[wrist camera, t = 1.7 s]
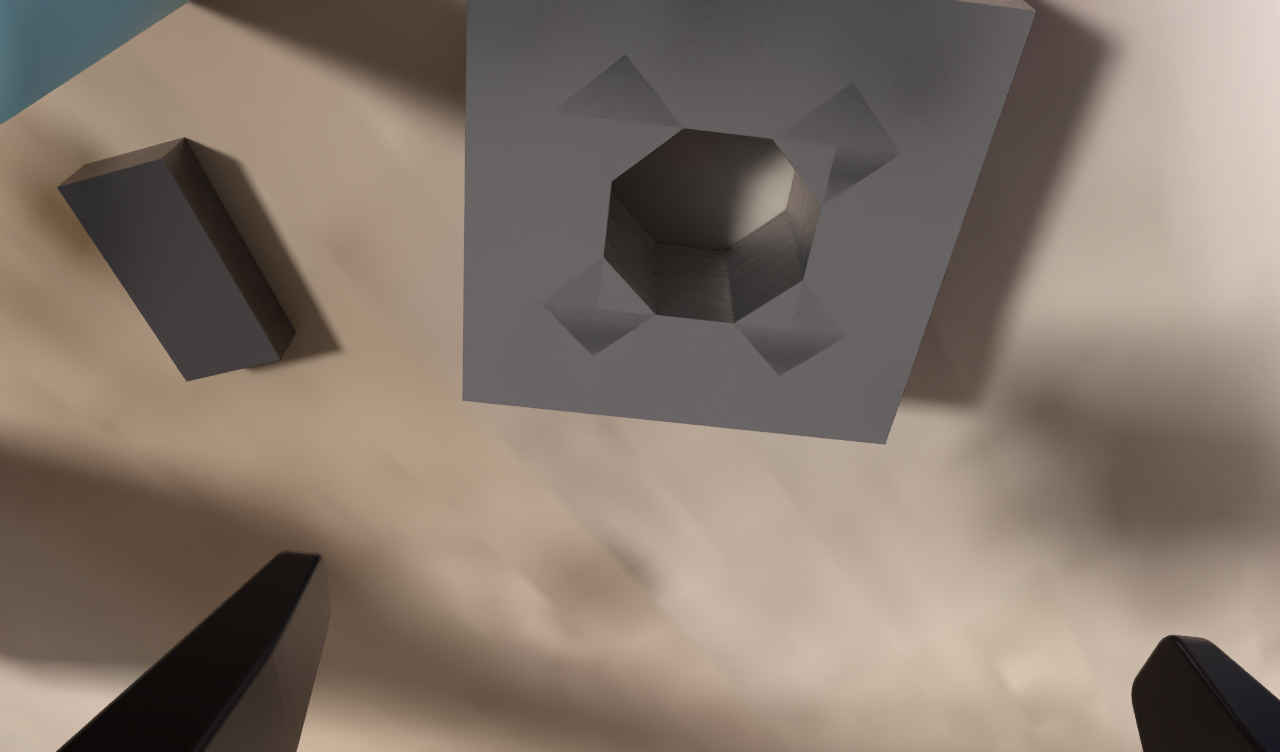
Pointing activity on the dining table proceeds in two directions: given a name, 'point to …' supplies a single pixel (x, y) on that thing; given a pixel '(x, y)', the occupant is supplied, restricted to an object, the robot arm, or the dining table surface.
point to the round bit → (63, 41)
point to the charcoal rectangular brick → (180, 258)
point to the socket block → (761, 262)
